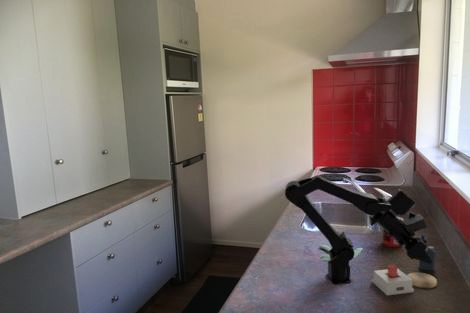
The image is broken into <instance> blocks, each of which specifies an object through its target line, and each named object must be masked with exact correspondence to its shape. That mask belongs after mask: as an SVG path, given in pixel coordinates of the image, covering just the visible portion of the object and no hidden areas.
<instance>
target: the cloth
mask: <svg viewBox="0 0 470 313" xmlns="http://www.w3.org/2000/svg"><path fill="white" fill-rule="evenodd" d="M319 249H321V250H323V249H324V250H323V251H325V250H326V252H327V253H328V252H329V250H331V249H332V247H331V246H329V245H325V244H321V245H319ZM353 250H354V257H353V259H355V258H357V256H359V255H360V254H361V253H362V251H363V247H357V248H356V249H353ZM327 253H326V254H321V255H322V256H320V255H318V256H319V258H321V259H320V260H321V261H322V260H323V261H322V262H328V261H330V256H329V253H328V254H327Z"/></svg>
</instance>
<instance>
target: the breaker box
mask: <svg viewBox="0 0 470 313" xmlns="http://www.w3.org/2000/svg"><path fill="white" fill-rule="evenodd" d="M407 275H408V274H406V273H404V272H403V271H401V269H399V268H398V267H397V278H389V277H388V268H387V269H378V270H373V278H372V280H371V282H372V283H373V284H374V285H375V286H376V287H378V288H379V290H381V291H382V292H383V293H384V295H386V296H392V295H401V294H409V293H410V294H411V293H414V292H415V290H414V289H415V288H413V285H412V279H411V278H409V277H408V276H407Z"/></svg>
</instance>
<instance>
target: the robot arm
mask: <svg viewBox="0 0 470 313" xmlns="http://www.w3.org/2000/svg"><path fill="white" fill-rule="evenodd" d="M284 190H285V191H284V196H285V197H286V199H287V200H288V201H289V202H290V203H291V204H293V205H294V207H297V208H298V209H300V210H301V211H303V213H304V214H305V215H306V216H307V217H308V219H309V220H310V221H311V222H312V223H313V225H314V226H316V228H317V229H318V231H319V232H320V233H321V234H322V235H323V236H324V237H325V238H326V239H327V240H328V242H329V244H330V247H331V250H329V253H328V255H329V256H330V261H327V273H326V275H325V276H326V277H327V278H328V279H329V281H330V282H331V283H332V284H333V285H336V284H344V283H351V282H352V279H351V266H350V261H352V260H353V259H354V258H353V257H354V250H355V249H354V244H353V242H352V239H351V238H350V237H348V236H347V233H345V232H344V231H342V232H341V233H340V232H338V231H336V229H335V228H334V227H333V225H331V224H330V223H329V221H328V220H327V218H325V217H324V215H323V214H322V213H321V212H320V211H319V210H318V208H317V207H316V206H315V205H314V204H313V202H312V201H311V200H310V198H309V197H308V195H309V194H311V193H313V192H315V191H318V190H319V191H322V192H323V193H326V194H329V195H331V196H333V197H335V198H338V199H340V200H342V201H345V202H346V203H347V202H348V203H350V204H351V205H353V206H354V207H356V208H357V209H358V210H360V211H362V212H363V213H365V214H366V215H367V216H368V222H369V224H370V226H372V227H373V226H374V225H375V224H376V223H377V224H378V225H379V226H380V227H381V228H382V230H383V229H384V230H385V231H386V232H388V234H389V235H390V236H391V237H393V238H394V239H395V240H396V241H397V242H398V243H399V245H401V247H402V246H403V251H404V253H405V254H406V255H407V256H408V257H409V259H410V260H417V261H419V262H420V261H423V262H425V263H428V264H432V263H433V261H432V260H431V258H430V257H429V255H428V254H427V253H426V251H425V250H426V248H428V246H427V245H428V244H427V245H426V244H425V243H424V242H423V241H422V240H421V239H420V237H414V236H415V235H416V232H418V231H420V230H422V229H424V230H425V229H427V228H428V224H427V221H426V220H425V218H424V217H423V216H422V215H421V214H418V213H416V214H415V213H414V212H412V211H410V210H411V209H412V208H414V207H415V206H416V205H417V203H416V202H415V201H414V200H413V198H411V197H410V196H408V195H407V194H406V193H405V192H403V190H401V189H399V188H398V189H397V190H396V191H395V193H394V194H392V195H391V196H390V198H388V199H387V198H385V197H384V198H383V197H376V195H374V194H371V193H368V192H364V191H356V190H354V189H353V190H352V189H351V188H348V187H345V186H344V185H341V184H339V183H336V182H333V181H331V180H328V179H326V178H324V177H322V176H321V175H319V174H318V175H314V176H311V177H308V178H303V179H300V180H298V181H297V180H291V181H289V182H288V183H286V185H285V189H284ZM392 211H393V212H394V213H395V214H396V215H397V216H396V215H395V214H394V213H393V212H392ZM409 211H410V212H409ZM406 214H407V215H406ZM405 215H406V216H407V217H406V218H405V219H404V220H403V221H402V220H401V219H398V218H397V217H398V216H405Z"/></svg>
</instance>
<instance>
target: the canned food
mask: <svg viewBox="0 0 470 313" xmlns="http://www.w3.org/2000/svg"><path fill="white" fill-rule="evenodd" d="M396 217H397V218H398V219H401V220H402V221H404V218H402V217H401V216H396ZM382 244H383V245H384V246H386V247H388V248H401V247H402V246H401V245H399V243H398V242H397V241H396V240H395V239H394V238H393V237H391V236H390V235H389V234H388V232H386V231H385V230H384V229H383V228H382Z"/></svg>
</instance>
